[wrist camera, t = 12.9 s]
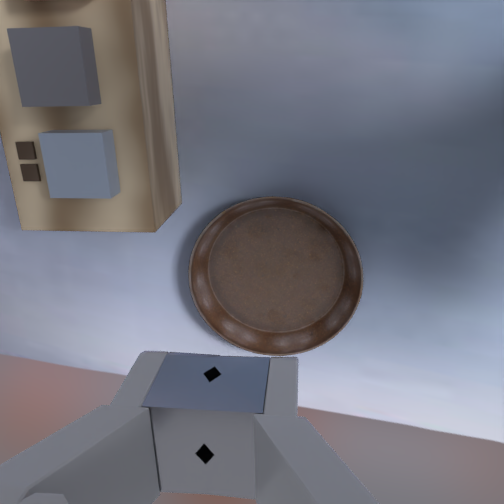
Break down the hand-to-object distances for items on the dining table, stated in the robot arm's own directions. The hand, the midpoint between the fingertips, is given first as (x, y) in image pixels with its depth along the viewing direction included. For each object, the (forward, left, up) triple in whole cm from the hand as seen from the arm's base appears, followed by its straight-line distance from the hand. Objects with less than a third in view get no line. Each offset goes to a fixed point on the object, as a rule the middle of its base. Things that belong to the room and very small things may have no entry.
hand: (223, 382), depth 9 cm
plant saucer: (+12, +8, -38) cm, 40 cm away
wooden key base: (+6, -17, -37) cm, 41 cm away
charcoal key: (+5, -16, -27) cm, 32 cm away
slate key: (+11, -12, -28) cm, 32 cm away
